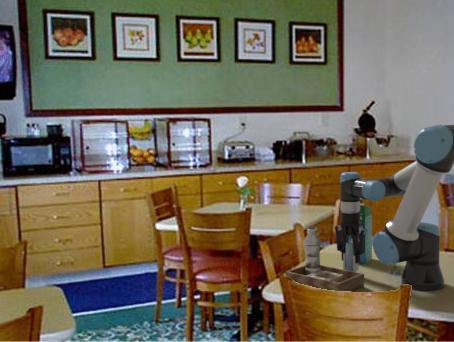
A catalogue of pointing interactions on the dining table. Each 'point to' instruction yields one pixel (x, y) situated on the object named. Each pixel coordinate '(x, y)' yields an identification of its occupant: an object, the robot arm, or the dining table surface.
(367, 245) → the milk carton
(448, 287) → the dining table surface
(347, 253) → the peg
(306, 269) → the plastic bottle
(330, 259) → the dining table surface
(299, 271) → the tray
